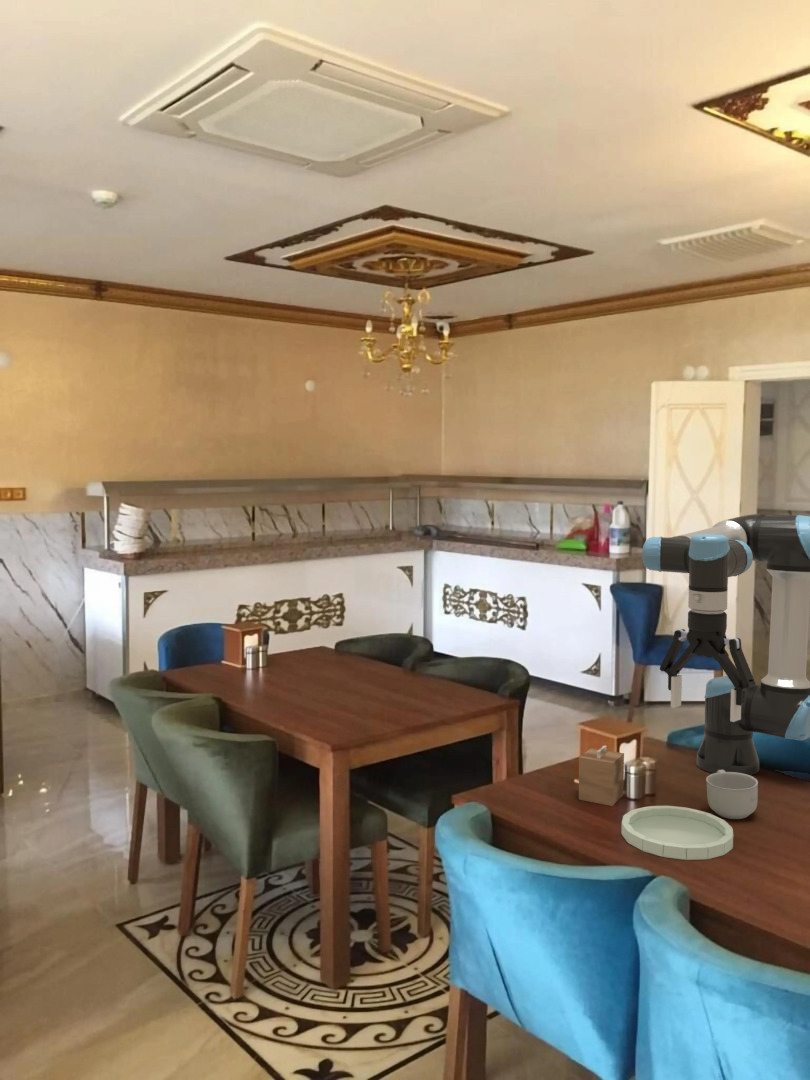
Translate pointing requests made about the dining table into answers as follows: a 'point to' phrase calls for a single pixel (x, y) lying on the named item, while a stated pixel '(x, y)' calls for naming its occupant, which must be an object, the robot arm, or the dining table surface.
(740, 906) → the dining table surface
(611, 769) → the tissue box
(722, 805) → the teacup
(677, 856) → the tray
